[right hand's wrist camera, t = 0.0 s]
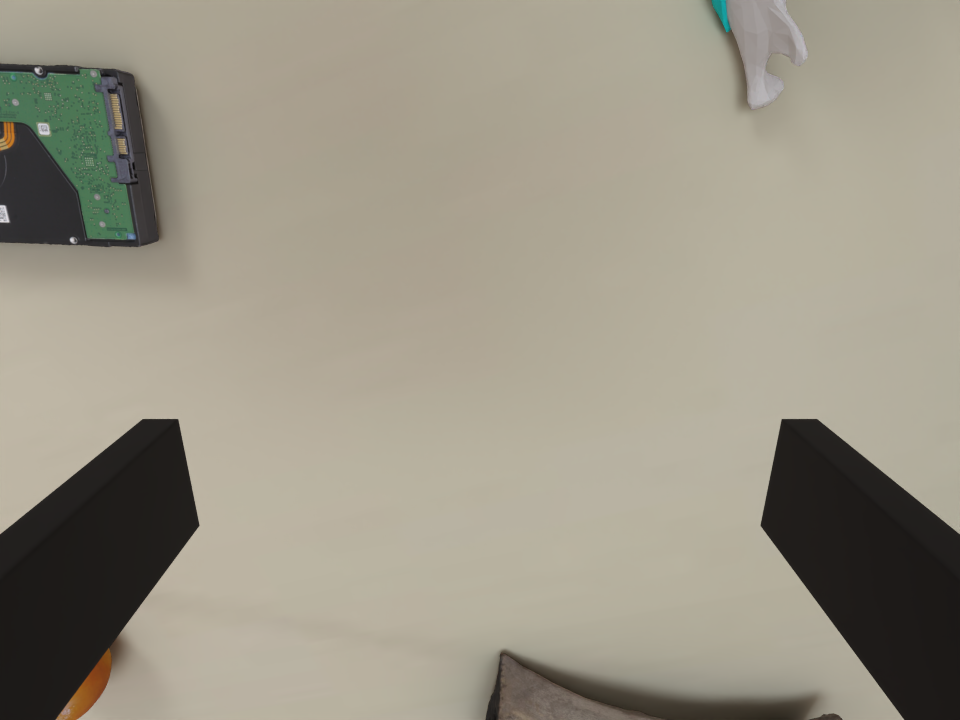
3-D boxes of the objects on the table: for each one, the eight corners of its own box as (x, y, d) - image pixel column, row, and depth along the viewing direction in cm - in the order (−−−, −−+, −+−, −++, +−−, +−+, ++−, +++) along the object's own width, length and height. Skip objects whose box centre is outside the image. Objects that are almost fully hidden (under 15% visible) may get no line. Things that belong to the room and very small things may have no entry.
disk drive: (-57, 236, 39) (165, 241, 39) (-96, 243, 36) (141, 248, 36) (-108, 63, 35) (136, 68, 35) (-156, 56, 32) (107, 62, 32)
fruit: (-35, 629, 46) (-53, 739, 41) (85, 587, 48) (82, 686, 43) (24, 661, 52) (15, 760, 47) (128, 622, 54) (130, 713, 49)
